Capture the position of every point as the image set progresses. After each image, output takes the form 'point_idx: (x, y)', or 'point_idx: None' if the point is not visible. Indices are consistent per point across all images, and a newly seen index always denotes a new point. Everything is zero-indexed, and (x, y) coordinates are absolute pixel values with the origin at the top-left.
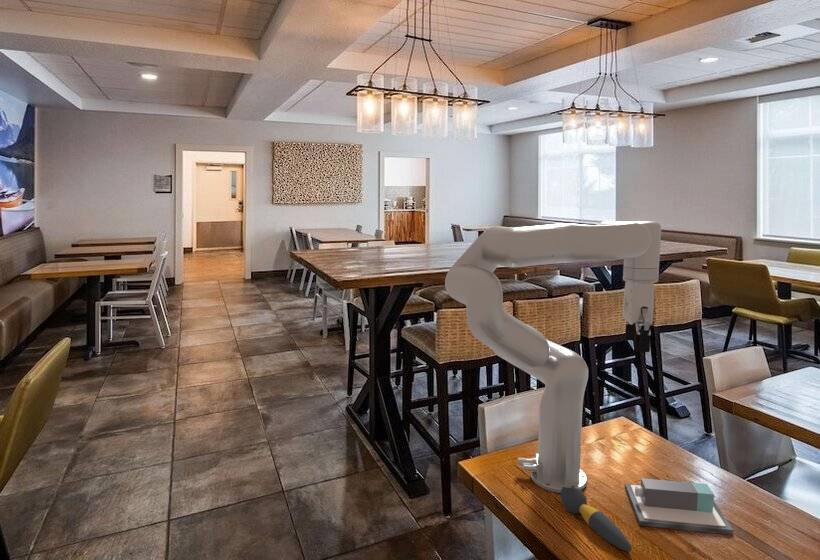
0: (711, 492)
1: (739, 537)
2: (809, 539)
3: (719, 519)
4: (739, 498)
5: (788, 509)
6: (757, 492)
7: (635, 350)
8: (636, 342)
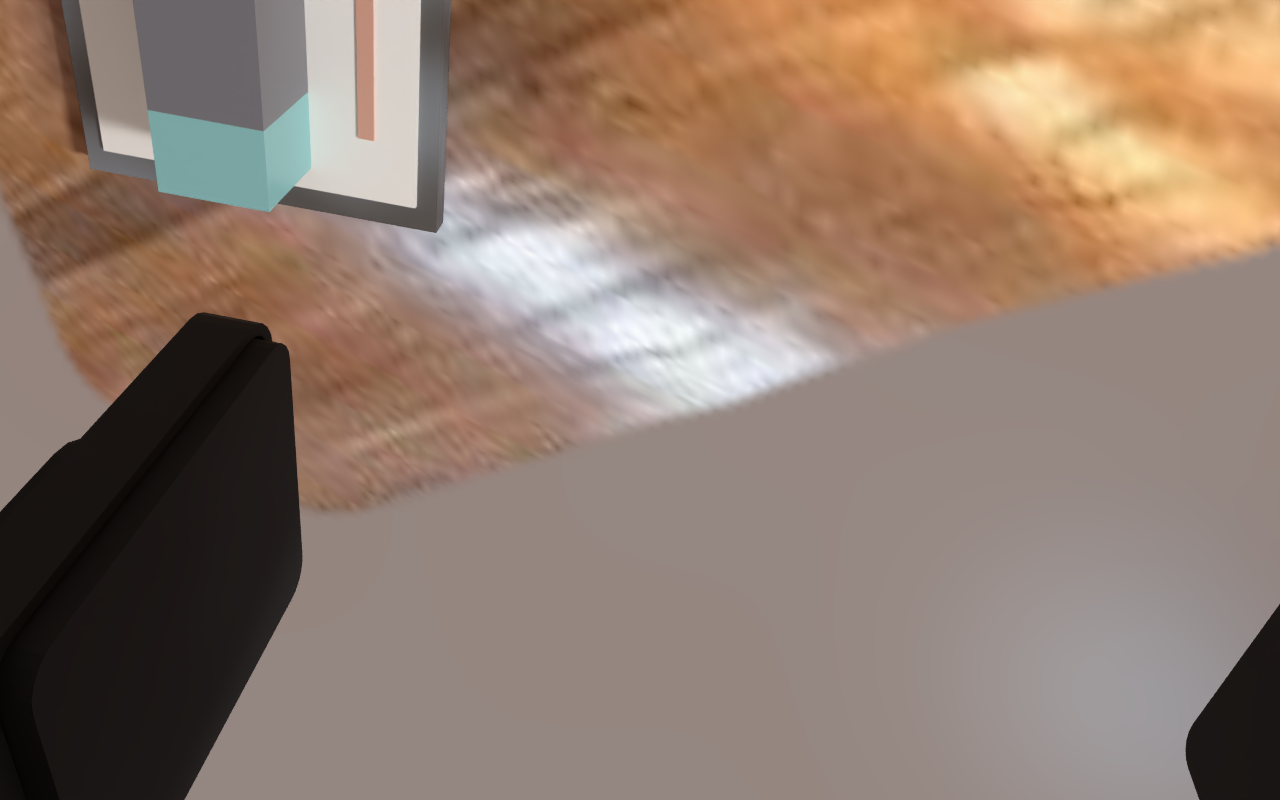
0: (175, 188)
1: (94, 177)
2: None
3: (152, 149)
4: (430, 352)
5: (373, 483)
6: (495, 451)
7: (192, 327)
8: (69, 483)
